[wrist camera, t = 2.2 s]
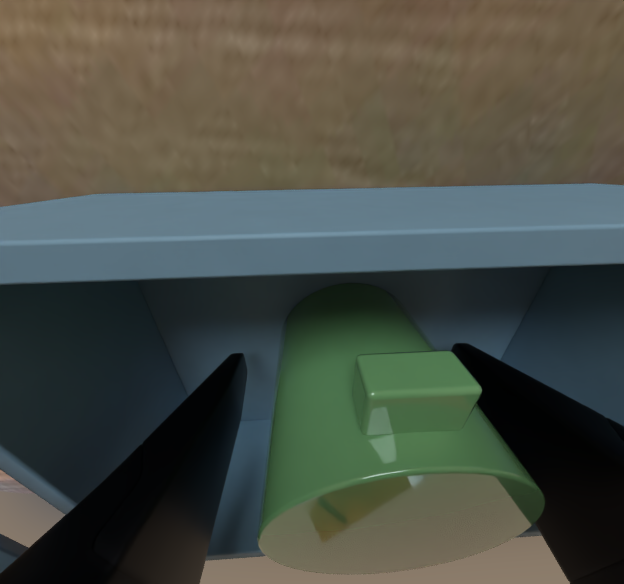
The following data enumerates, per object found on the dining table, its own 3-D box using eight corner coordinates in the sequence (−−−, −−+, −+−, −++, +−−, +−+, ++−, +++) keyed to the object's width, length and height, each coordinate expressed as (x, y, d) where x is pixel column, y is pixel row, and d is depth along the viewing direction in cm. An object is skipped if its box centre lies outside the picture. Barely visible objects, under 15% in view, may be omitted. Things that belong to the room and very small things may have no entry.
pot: (395, 393, 11) (470, 575, 6) (286, 399, 11) (275, 590, 6) (430, 254, 7) (672, 419, 3) (271, 259, 7) (212, 447, 2)
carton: (197, 419, 12) (137, 566, 8) (95, 193, 6) (-321, 250, 2) (473, 404, 12) (567, 533, 8) (592, 183, 7) (1076, 212, 3)
